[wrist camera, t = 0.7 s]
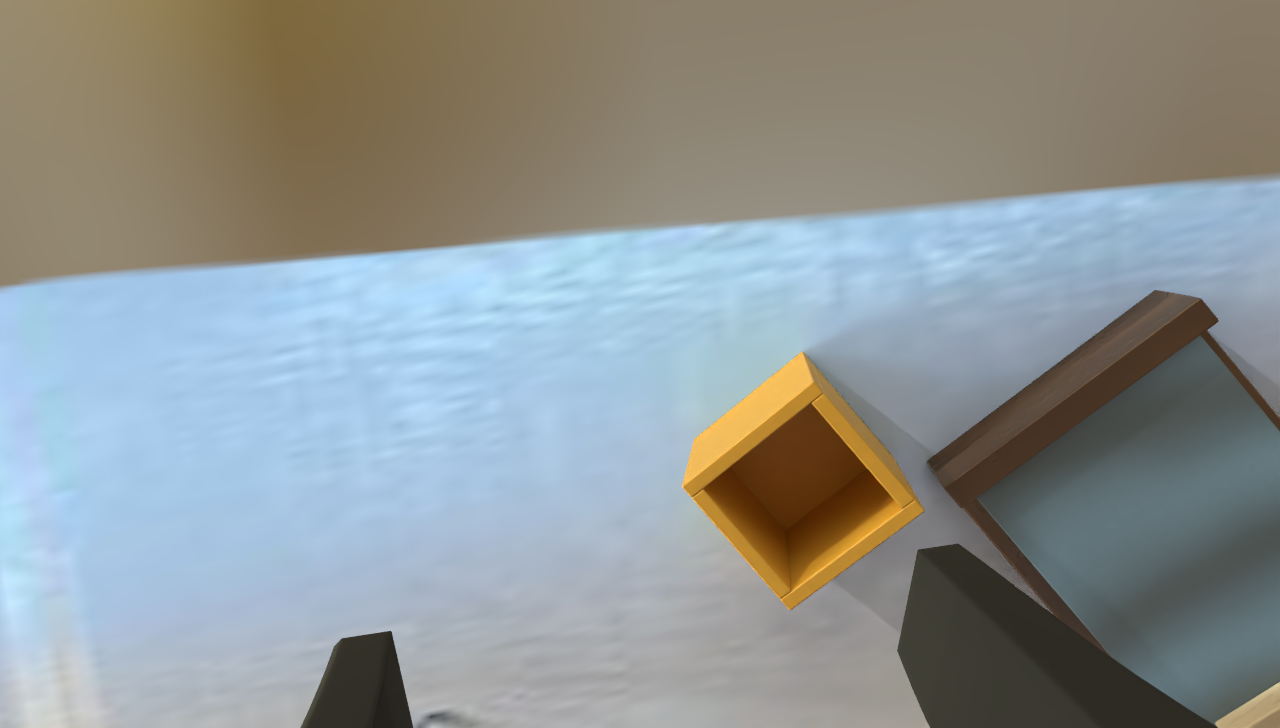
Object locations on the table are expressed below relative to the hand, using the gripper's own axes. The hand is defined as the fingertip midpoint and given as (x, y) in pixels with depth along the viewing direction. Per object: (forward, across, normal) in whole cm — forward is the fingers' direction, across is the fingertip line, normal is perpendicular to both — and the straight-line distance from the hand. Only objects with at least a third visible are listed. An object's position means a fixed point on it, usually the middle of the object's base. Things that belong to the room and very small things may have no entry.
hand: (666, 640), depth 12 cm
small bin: (+17, -9, +11) cm, 22 cm away
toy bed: (+12, -22, +13) cm, 28 cm away
